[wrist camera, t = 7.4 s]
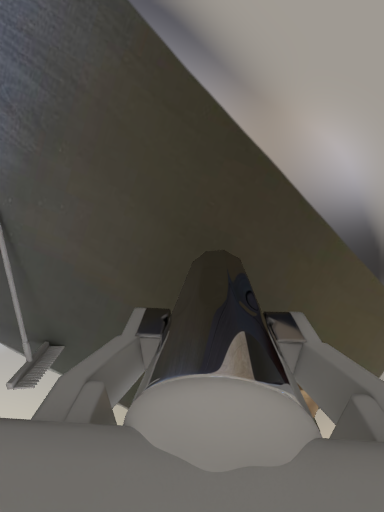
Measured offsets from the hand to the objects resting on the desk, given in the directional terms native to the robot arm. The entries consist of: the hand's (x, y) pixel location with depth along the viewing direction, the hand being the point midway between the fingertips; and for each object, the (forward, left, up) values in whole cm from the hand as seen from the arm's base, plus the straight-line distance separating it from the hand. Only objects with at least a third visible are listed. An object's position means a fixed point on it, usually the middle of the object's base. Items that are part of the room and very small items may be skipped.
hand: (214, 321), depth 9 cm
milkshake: (0, 0, -4) cm, 4 cm away
